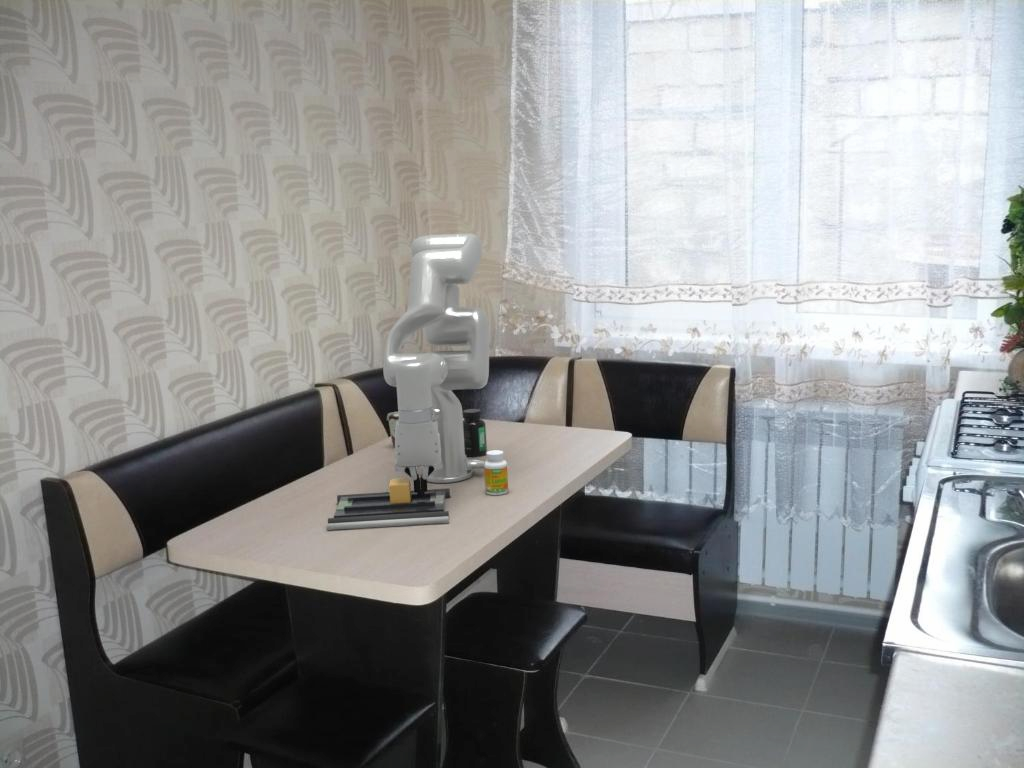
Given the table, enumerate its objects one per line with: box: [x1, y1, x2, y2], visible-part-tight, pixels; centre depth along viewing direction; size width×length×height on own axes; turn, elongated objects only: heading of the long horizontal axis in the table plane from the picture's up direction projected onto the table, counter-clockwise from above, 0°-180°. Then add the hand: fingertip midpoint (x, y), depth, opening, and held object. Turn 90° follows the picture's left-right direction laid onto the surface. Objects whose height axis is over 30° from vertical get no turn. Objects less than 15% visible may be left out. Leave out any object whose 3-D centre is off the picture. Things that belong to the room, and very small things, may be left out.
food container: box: [386, 411, 399, 450], centre depth 293 cm, size 12×6×10 cm, turn 58°
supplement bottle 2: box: [483, 449, 509, 496], centre depth 247 cm, size 5×5×10 cm
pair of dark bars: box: [326, 487, 451, 531], centre depth 237 cm, size 26×20×2 cm
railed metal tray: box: [333, 491, 447, 518], centre depth 237 cm, size 24×14×3 cm, turn 92°
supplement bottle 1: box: [462, 408, 488, 458], centre depth 282 cm, size 7×7×12 cm
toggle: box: [388, 477, 412, 504], centre depth 237 cm, size 4×5×4 cm
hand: (421, 495), depth 237 cm, fingers closed
